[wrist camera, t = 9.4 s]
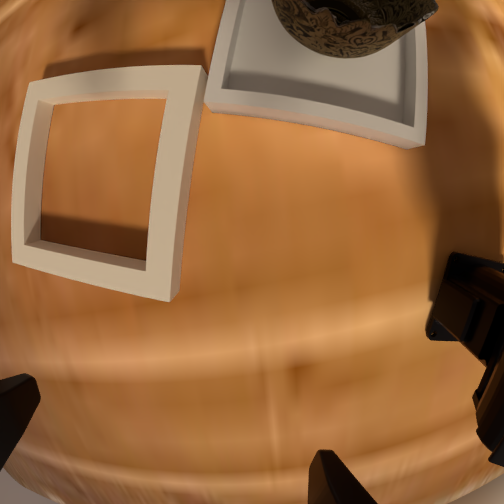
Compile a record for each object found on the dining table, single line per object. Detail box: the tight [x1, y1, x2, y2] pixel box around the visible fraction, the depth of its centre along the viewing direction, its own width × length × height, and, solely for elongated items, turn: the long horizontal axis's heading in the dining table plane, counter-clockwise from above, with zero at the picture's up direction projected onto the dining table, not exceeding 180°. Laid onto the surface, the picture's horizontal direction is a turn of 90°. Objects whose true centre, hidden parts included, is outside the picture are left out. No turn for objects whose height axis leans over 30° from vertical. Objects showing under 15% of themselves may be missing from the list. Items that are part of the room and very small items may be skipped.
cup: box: [271, 0, 438, 59], centre depth 10 cm, size 8×7×8 cm
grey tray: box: [203, 0, 428, 149], centre depth 14 cm, size 12×12×2 cm
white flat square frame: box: [11, 65, 208, 302], centre depth 17 cm, size 14×14×2 cm
